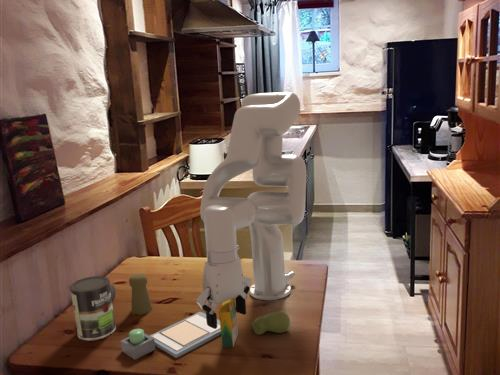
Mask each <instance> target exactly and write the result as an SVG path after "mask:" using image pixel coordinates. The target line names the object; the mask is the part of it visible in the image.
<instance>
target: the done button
mask: <svg viewBox="0 0 500 375" xmlns="http://www.w3.org/2000/svg"><path fill="white" fill-rule="evenodd" d="M144 333H145V331H144V329H141V328H135V329H132V330H130V331H129V332H128V337H129V338H130V343H131V344H132V345H134V346H135V345H137V344H140V343H142V342H144V341H145V338H144Z"/></svg>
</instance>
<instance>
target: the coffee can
mask: <svg viewBox="0 0 500 375" xmlns="http://www.w3.org/2000/svg"><path fill="white" fill-rule="evenodd" d="M110 285H111V280H110V278H108V277H107V276H100V275H99V276H98V275H95V276H88V277H84V278H81V279H78V280H76V281H74V282H72V283H71V284H70V286H69V290H70V293H71V301H72V307H73V313H74V319H75V326H76V330H77V333H76V334H77V337H78V339H79V340H82V341H87V342H88V341H89V342H90V341H99V340H100V339H101V340H102V339H104V338H107V337H109V336H111V335H110V334H113V333H114V332H115V331H116V330H117V327H116V326H117V325H116V321H115V320H116V319H115V314H114V305H113V302H112V298H111V291H110Z"/></svg>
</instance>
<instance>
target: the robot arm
mask: <svg viewBox="0 0 500 375" xmlns="http://www.w3.org/2000/svg"><path fill="white" fill-rule="evenodd" d="M240 104H241V107H240V108H238V109H237V110H236V111H235V113H234V116H233V121H232V126H231V132H230V137H229V140H228V141H229V143H228V148H227V153H226V157H225V158H224V160H223V161H221V162H220V163H219V164H218V165H217V166H216V167H215V169H214V170H213V171H212V172H211V173H210V175H209V176H208V178H207V180H206V181H205V183H204V186H203V191H202V196H201V200H200V208H199V211H200V212H199V213H200V218H201V220H202V222H203V224H204V236H205V248H206V249H205V250H206V262H204V267H203V272H202V274H203V276H202V278H203V279H202V292H201V293H200V294H199V296H197V298H196V300H195V302H196V304H197V305H198V306H199V309H200V310H201V311H202V312H205V314H206V320H207V325H208V326H210V327H212V328H214V329H216V328H217V319H218V318H217V317H218V316H217V313H216V309H217V307H218V305H220V304H222V303H223V302H225V301H227V300H230V299H232V298H234V297H235V308H236V313H238V314H241V315H244V316H245V315H246V314H247V305H246V299H248V293H249V294H250V296H251V297H253V298H255V299H256V300H262V301H276V300H277V301H278V300H280V299H283V298H285V297H288V296H289V295H290V294H291V292H292V287H291V285H290V284H289V283H288V282H289V281H290V280H291V279H294V278H296V274H295V272H294V271H289V272H288V273H286V271H285V270H286V269H285V253H284V239H283V238H284V237H283V234H282V231H281V230H280V227H279V226H278V225H280V226H281V225H283V226H288V225H289V226H297V225H299V224H301V223H302V222H303V220H304V217H305V213H306V212H305V211H306V195H307V194H306V193H307V191H306V190H307V165H306V162H305V160H304V158H303V157H302V156H300V155H298V154H283V143H284V142H283V135H284V134H286V133H287V132H288V131H289V130H290V129H291V127H292V126H293V125H294V124H295V123H296V121H297V119H298V118H299V116H300V113H301V101H300V98H299V97H298V95H297V94H296V93H294V92H291V91H289V92H288V91H283V92H281V91H280V92H259V93H253V94H249V95H246V96H245V97H243V99H242V100H241V103H240ZM251 170H252V180H253V182H254V183H255V184H256V185H257V186H259V187H271V188H287V191H275V190H273V191H271V190H258V191H254V192H252V193H250V194H249V195H248V196H247V198H245V197H233V196H231V197H229V196H220V193H221V191H222V189H223V188H224V186H225V185H227V183H228V182H229V181H231V180H232V179H234V178H237V177H238V176H240V175H242V174H244V173H246V172H249V171H251ZM247 227H249V231H250V233H249V234H250V242H251V244H250V245H251V257H252V270H253V284H251V283H252V278H250V277H248V276H244V272H243V267H242V263H241V259H240V257H239V254H238V251H239V250H240V246H239V244H238V240H237V237H238V236H237V231H238V230H241V229H244V228H247Z"/></svg>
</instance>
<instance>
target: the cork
mask: <svg viewBox="0 0 500 375" xmlns="http://www.w3.org/2000/svg"><path fill="white" fill-rule="evenodd" d="M128 282H129V286H130V287H131V314H133V315H135V314H137V315H138V316H142V315H145V314H148V313H150V312H152V310H153V306H152V302H151V298H150V295H149V292H148V287H147V284H148V277H147V275H146V274H144V273H134V274H132V275H131V276H129V280H128ZM137 315H136V316H137Z"/></svg>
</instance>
